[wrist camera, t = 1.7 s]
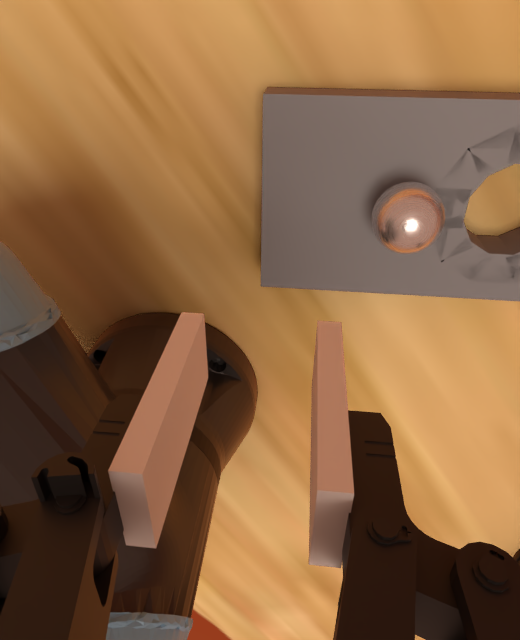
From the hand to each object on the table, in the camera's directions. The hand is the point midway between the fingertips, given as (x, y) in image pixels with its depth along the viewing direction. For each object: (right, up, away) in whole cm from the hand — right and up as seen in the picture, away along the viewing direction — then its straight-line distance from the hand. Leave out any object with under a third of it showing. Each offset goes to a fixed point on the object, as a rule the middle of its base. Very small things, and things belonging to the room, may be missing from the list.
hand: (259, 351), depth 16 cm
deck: (+10, +9, +15) cm, 20 cm away
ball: (+8, +7, +11) cm, 15 cm away
